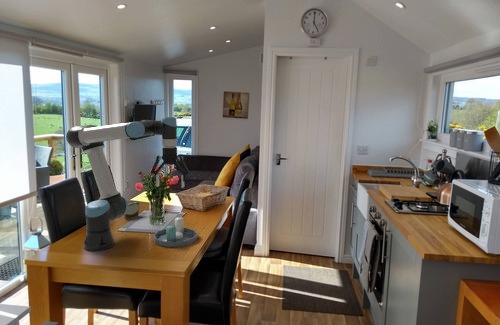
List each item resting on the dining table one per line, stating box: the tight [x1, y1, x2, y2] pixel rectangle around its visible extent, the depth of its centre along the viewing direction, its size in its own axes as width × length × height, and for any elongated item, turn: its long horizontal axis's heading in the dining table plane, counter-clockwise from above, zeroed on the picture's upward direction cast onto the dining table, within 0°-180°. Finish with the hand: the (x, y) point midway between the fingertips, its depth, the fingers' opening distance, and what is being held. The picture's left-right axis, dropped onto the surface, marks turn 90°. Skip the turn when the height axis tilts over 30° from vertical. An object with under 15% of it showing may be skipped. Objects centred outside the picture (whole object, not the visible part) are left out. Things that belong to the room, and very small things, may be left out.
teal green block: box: [166, 225, 176, 242], centre depth 204 cm, size 5×5×9 cm
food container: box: [123, 200, 141, 220], centre depth 250 cm, size 12×6×10 cm, turn 141°
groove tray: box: [152, 227, 199, 248], centre depth 212 cm, size 24×24×3 cm
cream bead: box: [174, 216, 185, 234], centre depth 219 cm, size 5×5×9 cm
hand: (170, 186), depth 200 cm, fingers open, 13 cm apart
